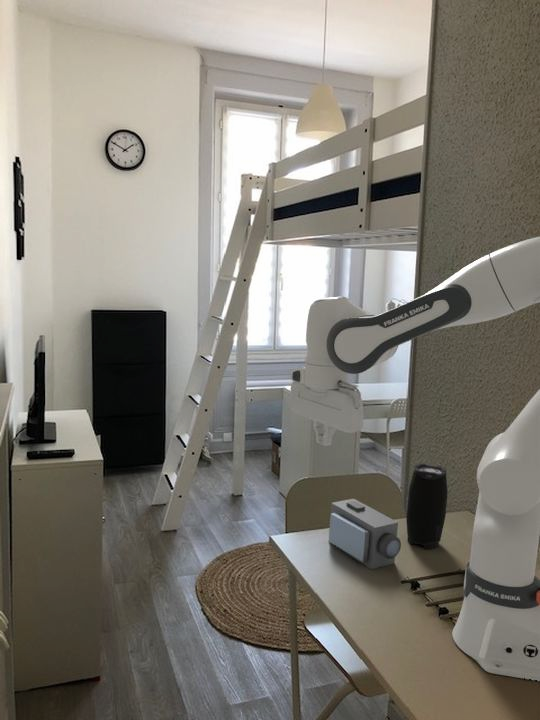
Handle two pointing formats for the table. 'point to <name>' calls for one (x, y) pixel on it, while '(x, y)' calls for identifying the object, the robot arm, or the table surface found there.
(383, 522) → the camcorder body
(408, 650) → the table surface
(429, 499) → the portable speaker
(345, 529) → the side panel
